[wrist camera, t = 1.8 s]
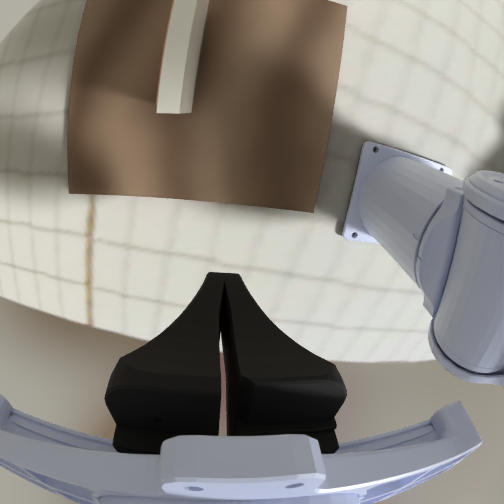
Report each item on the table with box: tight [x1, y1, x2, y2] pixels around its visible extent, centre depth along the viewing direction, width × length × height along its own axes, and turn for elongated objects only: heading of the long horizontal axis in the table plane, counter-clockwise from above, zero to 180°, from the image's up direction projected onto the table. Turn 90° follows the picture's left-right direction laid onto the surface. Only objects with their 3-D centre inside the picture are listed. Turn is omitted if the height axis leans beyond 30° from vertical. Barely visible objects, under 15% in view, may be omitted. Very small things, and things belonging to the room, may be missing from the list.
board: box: [68, 0, 347, 213], centre depth 16 cm, size 18×16×2 cm
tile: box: [156, 0, 209, 114], centre depth 10 cm, size 8×8×1 cm
